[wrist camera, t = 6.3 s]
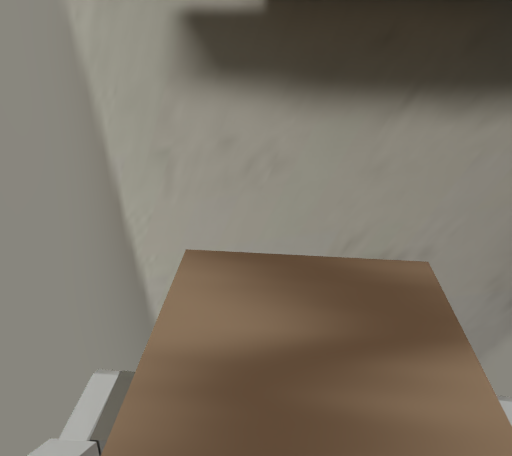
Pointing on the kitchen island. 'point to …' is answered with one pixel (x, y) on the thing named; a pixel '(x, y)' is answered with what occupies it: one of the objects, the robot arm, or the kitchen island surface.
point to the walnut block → (307, 364)
